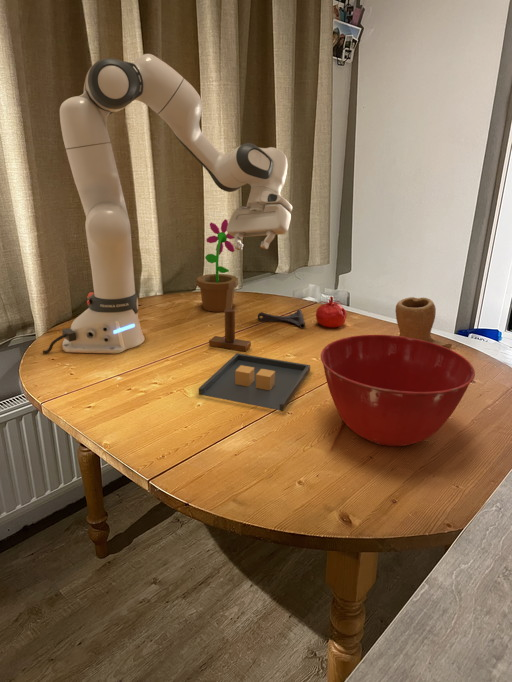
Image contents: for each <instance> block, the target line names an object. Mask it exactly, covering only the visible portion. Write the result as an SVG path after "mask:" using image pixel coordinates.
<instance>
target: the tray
mask: <svg viewBox="0 0 512 682" xmlns="http://www.w3.org/2000/svg"><path fill="white" fill-rule="evenodd" d="M241 365H243V366H248V367H254V382H253V383H252V384H251V385H250V386H249V387H248V386H242V385H237V384H235V371H236V370H237V369H238V368H239V367H240V366H241ZM261 369H266V370H272V371H275V385H274V386H273V387H272V389H271V390H270V391H269V390H264V389H259V388H256V374H257V373H258V372H259V371H260V370H261ZM310 371H311V365H310V364H306V363H299V362H293V361H287V360H281V359H275V358H268V357H262V356H256V355H250V354H244V353H239V352H237V353H235V354H233V356H232V357H231V358H230V359H229V360H228V361H226V362H225V363H224V364H223V365H222V366H221V367H220V368H219V369H218V370H217V371H215V372H214V373H213V374H212V375H211V376H210V377H209V378H208V379H207V380H206V381H205V382H204V383H202V385H200V386H199V387H198V395H199V396H205V397H208V398H209V397H210V398H215V399H220V400H225V401H231V402H235V403H239V404H246V405H250V406H255V407H260V408H265V409H271V410H275V411H281V412H283V411H285V408H286V407H287V406H288V404H289V403H290V401H291V400H292V398H293V397H294V396H295V395H296V392H297V391H298V389H299V388H300V386H301V385H302V383H303V382H304V380H305V379H306V378H307V376H308V374H310Z"/></svg>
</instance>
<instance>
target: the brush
mask: <svg viewBox="0 0 512 682" xmlns="http://www.w3.org/2000/svg"><path fill="white" fill-rule="evenodd" d="M208 346H209V347H212V348H220V349H224V350H232V351H237V352H244V353H245V352H247V351H248V350H250V349H251V347H252V341H250V340H245V339H238V338H236V309H234V308H231V309H225V311H224V336H219V335H214V336H213V337H212V338H210V339H209V340H208Z"/></svg>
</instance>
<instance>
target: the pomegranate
mask: <svg viewBox="0 0 512 682" xmlns="http://www.w3.org/2000/svg"><path fill="white" fill-rule="evenodd" d="M318 303H322V301H319V302H318ZM323 303H324V304H321V305H320V306H318V307H317V309H316V312H315V320H316V322H317V323H318V325H320V326H322V327H324V328H327V329H328V328H330V329H331V328H334V329H335V328H339V327H341V326H344V325H345V323H346V319H347V314H348V313H347V311H346V309H345V308H344V307H343V303H342V302H340V300H337V301H334V296H331V295H330V296H329V299H328V301H323Z"/></svg>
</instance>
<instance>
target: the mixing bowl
mask: <svg viewBox="0 0 512 682" xmlns="http://www.w3.org/2000/svg"><path fill="white" fill-rule="evenodd" d="M320 361H321V363H322V365H323V370H324V374H325V375H324V376H325V380H326V383H327V387H328V390H329V393H330V396H331V399H332V401H333V404H334V406H335V408H336V410H337V413H338V414H339V416H340V418H341V419H342V421H343V422H344V424H345V425H346V427H348V428H349V430H351V431H352V432H354V434H357V436H359V437H361V438H363V439H364V440H367V441H368V442H371V443H374V444H378V445H381V446H385V447H386V446H387V447H405V446H410V445H414V444H417V443H421V442H422V441H425V440H427V439H428V438H430V437H432V436H433V435H434V434H435V433H437V432H438V430H440V429H441V428H442V426H444V425H445V423H446V422H447V421H448V420H449V418H450V417H451V416H452V414H453V413H454V411H455V410H456V409H457V407H458V406H459V404H460V402H461V401H462V399H463V397H464V395H465V393H466V391H467V390H468V388H469V385H470V384H471V383H472V382H473V381H474V380H475V376H476V370H475V368H474V366H473V364H472V363H471V362H470V361H469V360H468V359H466V357H464V356H463V355H461V354H460V353H458V352H456V351H454V350H452V349H451V348H450V349H448V348H446V347H443V346H440V345H437V344H434V343H431V342H427V341H423V340H419V339H414V338H409V337H402V336H400V335H392V334H361V335H353V336H352V335H351V336H348V337H342V338H339V339H336V340H334V341H332V342H330V343H328V344H327V345H326V346H324V348H322V350H321V352H320Z"/></svg>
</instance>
